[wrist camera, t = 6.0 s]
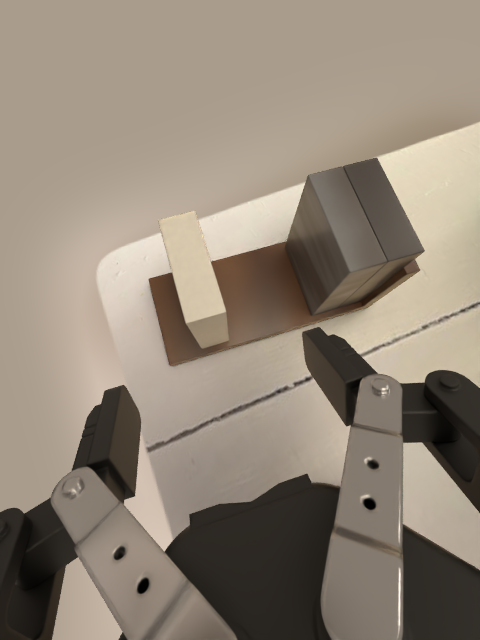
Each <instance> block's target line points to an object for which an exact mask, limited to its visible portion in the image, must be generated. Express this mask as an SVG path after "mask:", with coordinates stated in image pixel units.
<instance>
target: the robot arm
mask: <svg viewBox="0 0 480 640" xmlns="http://www.w3.org/2000/svg"><path fill="white" fill-rule="evenodd" d="M302 337H303V346H304V356H305V362H306V365H307V368H308V370H309V372H310V373H311V375H312V376H313V378H314V379H315V381H316V382H317V384H318V385H319V387H320V388H321V389H322V391H323V392H324V394H325V395H326V397H327V398H328V400H329V401H330V403H331V404H332V406H333V407H334V409H335V410H336V412H337V413H338V415H339V416H340V418H341V419H342V421H343V422H344V424H345V425H346V426H349V425H351V428H350V433H349V439H348V445H347V451H346V457H345V463H344V469H343V475H342V481H341V487H338V486H334V485H331V484H326V483H311V481H310V479H309V477H308V474H305V475H302V476H299V477H296V478H293V479H290V480H287V481H285V482H282V483H279V484H277V485H276V486H274V487H273V488H271V489H270V490H268V491H267V492H266V493H264V494H263V495H261V496H260V497H258V498H257V499H255V500H253V501H251V502H243V503H228V504H218V505H215V506H212V507H209V508H206V509H203V510H201V511H198V512H195V513H192V514H189V517H190V526H188V527H187V528H186V529H184V530H183V531H182V532H181V533H180V534H179V535H178V536H177V537H176V538H175V539H174V540H173V541H172V542H171V544H170V545H169V546H168V548H167V549H166V551H165V552H164V551H163V550H162V549H161V548H160V546H159V545H158V544H157V543H156V542H155V541H154V539H153V538H152V537H151V536H150V535H149V534H148V533H147V531H146V530H145V529H144V528H143V527H142V526H141V524H140V523H139V522H138V521H137V520H136V518H135V517H134V516H133V515H132V514H131V513H130V511H129V510H128V509H127V508H126V507H125V506H124V500H125V499H128V498H131V497H134V496H135V489H136V477H137V466H138V454H139V442H140V431H141V417H140V413H139V410H138V408H137V406H136V405H135V403H134V401H133V399H132V397H131V395H130V393H129V392H128V390H127V388H126V387H125V386H124V385H122V386H118V387H115V388H112V389H108V390H106V391H105V392H104V395H103V399H102V403H101V404H100V405H97V406H95V407H94V408H93V410H92V411H91V413H90V414H89V416H88V417H87V420H86V424H85V430H84V431H83V434H82V439H81V441H80V444H79V448H78V451H77V454H76V458H75V461H74V465H73V468H72V471H71V472H70V473H68V474H67V475H66V476H65V477H63V478H62V479H61V480H60V481H59V482H58V484H57V485H56V487H55V488H54V490H53V492H52V496H51V498H49V499H48V500H46V501H45V502H43V503H41V504H40V505H38V506H37V507H35V508H33V509H31V510H30V511H28V512H27V513H25V514H24V513H23V512H22V511H21V510H20V509H18V508H10V509H7V510H4V511H2V512H0V640H52V636H53V631H54V626H55V620H56V615H57V609H58V604H59V599H60V594H61V589H62V583H63V578H64V573H65V567H66V565H67V564H69V563H70V562H71V561H73V560H74V559H76V558H77V557H79V559H80V560H81V562H82V564H83V565H84V567H85V569H86V571H87V572H88V574H89V576H90V577H91V579H92V581H93V582H94V584H95V586H96V587H97V589H98V591H99V592H100V594H101V596H102V598H103V599H104V601H105V603H106V604H107V606H108V608H109V609H110V611H111V613H112V614H113V616H114V618H115V619H116V621H117V623H118V625H119V626H120V628H121V629H122V631H123V632H122V634H121V636H120V638H119V640H480V570H479V569H477V568H475V567H474V566H472V565H470V564H469V563H467V562H465V561H464V560H462V559H460V558H459V557H457V556H455V555H454V554H452V553H450V552H449V551H447V550H445V549H444V548H442V547H440V546H439V545H437V544H435V543H434V542H432V541H430V540H429V539H427V538H425V537H424V536H422V535H420V534H419V533H417V532H415V531H414V530H412V529H411V528H409V527H407V526H406V525H404V524H403V443H412V442H422V443H423V444H424V445H425V446H426V447H427V449H428V450H429V451H430V452H431V454H432V455H433V456H434V457H435V458H436V460H437V461H438V462H439V463H440V465H441V466H442V467H443V468H444V470H445V471H446V472H447V473H448V474H449V476H450V477H451V478H452V479H453V481H454V482H455V483H456V484H457V485H458V487H459V488H460V489H461V490H462V492H463V493H464V494H465V495H466V497H467V498H468V499H469V500H470V501H471V503H472V504H473V505H474V506H475V508H476V509H477V510H478V511H479V513H480V388H479V387H478V386H476V385H475V384H474V383H473V382H471V381H470V380H469V379H468V378H466V377H465V376H463V375H461V374H459V373H456V372H453V371H447V370H438V371H433V372H431V373H429V374H428V375H427V376H426V379H425V383H408V384H402V383H399V382H398V381H397V380H395V379H394V378H392V377H390V376H387V375H383V374H378V373H377V372H376V371H375V370H374V369H373V368H372V367H371V366H370V365H369V364H368V363H367V362H366V361H365V360H364V359H363V358H362V357H361V356H360V355H359V354H358V353H356V351H355V350H354V349H353V348H351V346H350V345H349V344H348V343H347V342H346V341H345V340H344V339H343V338H340V337H338V336H336V335H334V334H333V335H330V336H327V335H326V334H325V332H324V331H323V330H322V329H321V328H320V327H317V328H314V329H311V330H307V331H304V332H303V333H302Z"/></svg>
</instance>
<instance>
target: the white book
mask: <svg viewBox="0 0 480 640" xmlns="http://www.w3.org/2000/svg"><path fill="white" fill-rule="evenodd" d="M158 222H159V226H160V230H161V233H162V237H163V241H164V244H165V248H166V252H167V256H168V259H169V263H170V267H171V271H172V274H173V278H174V282H175V285H176V289H177V293H178V297H179V300H180V304H181V308H182V311H183V315H184V319H185V323H186V324H187V326H188V328H189V329H190V331H191V332H192V334H193V336H194V337H195V339H196V340H197V342H198V343H199V345H200V347H201V348H202V349H203V348H207V347H210V346H213V345H217V344H220V343H223V342H227V341H229V335H228V325H227V314H226V309H225V306H224V303H223V299H222V296H221V293H220V290H219V286H218V283H217V280H216V277H215V273H214V270H213V267H212V264H211V260H210V257H209V254H208V251H207V247H206V244H205V241H204V238H203V234H202V231H201V228H200V225H199V221H198V218H197V215H196V212H195V211H192V212H188V213H184V214H180V215H176V216H172V217H168V218H164V219H160V220H158Z"/></svg>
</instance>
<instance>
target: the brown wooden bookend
mask: <svg viewBox="0 0 480 640" xmlns="http://www.w3.org/2000/svg"><path fill="white" fill-rule="evenodd" d="M423 252H424V249H423V247H422V245H421V243H420V241H419V239H418V237H417V235H416V233H415V231H414V229H413V227H412V225H411V223H410V221H409V219H408V217H407V215H406V213H405V211H404V210H403V208H402V206H401V204H400V202H399V200H398V198H397V196H396V194H395V192H394V190H393V188H392V186H391V184H390V182H389V180H388V178H387V176H386V174H385V172H384V171H383V169H382V167H381V165H380V163H379V161H378V159H377V158H373V159H369V160H365V161H361V162H357V163H353V164H350V165H346V166H343V167H338V168H334V169H330V170H326V171H322V172H318V173H314V174H310V175H308V177H307V180H306V183H305V186H304V189H303V192H302V195H301V199H300V202H299V205H298V208H297V211H296V214H295V217H294V220H293V223H292V226H291V230H290V233H289V236H288V239H287V241H286V242H283V243H279V244H275V245H272V246H268V247H264V248H261V249H257V250H253V251H249V252H246V253H242V254H238V255H235V256H231V257H227V258H224V259H220V260H216V261H213V262H211V264H212V267H213V270H214V273H215V277H216V280H217V283H218V286H219V290H220V293H221V296H222V299H223V303H224V306H225V309H226V314H227V325H228V335H229V341H227V342H223V343H220V344H217V345H213V346H210V347H207V348H203V349H202V348H201V347H200V345H199V343H198V342H197V340H196V339H195V337H194V336H193V334H192V332H191V331H190V329H189V328H188V326H187V324H186V323H185V319H184V315H183V311H182V308H181V304H180V300H179V297H178V293H177V289H176V285H175V282H174V278H173V274H172V273H168V274H165V275H161V276H157V277H154V278H150V279H149V283H150V287H151V291H152V296H153V300H154V304H155V308H156V312H157V316H158V320H159V324H160V328H161V332H162V336H163V340H164V344H165V349H166V353H167V357H168V361H169V365H171V366H174V365H178V364H181V363H184V362H188V361H191V360H194V359H198V358H201V357H204V356H208V355H211V354H214V353H218V352H221V351H224V350H228V349H231V348H234V347H238V346H241V345H244V344H248V343H251V342H254V341H258V340H261V339H264V338H268V337H271V336H274V335H278V334H281V333H284V332H287V331H291V330H294V329H297V328H301V327H304V326H307V325H311V324H314V323H317V322H321V321H324V320H327V319H331V318H334V317H337V316H341V315H344V314H347V313H351V312H354V311H357V310H361V309H364V308H367V307H369V306H371V305H372V304H373V303H375V302H376V301H378V300H379V299H381V298H382V297H383V296H385V295H386V294H388V293H389V292H390V291H392V290H393V289H395V288H396V287H398V286H399V285H400V284H402V283H403V282H405V281H406V280H407V279H409V278H410V277H412V276H413V275H414V274H416V273H417V272H419V271H420V269H419V267H418V265H417V263H416V261H415V258H417V257H418V256H419V255H421V254H422V253H423Z"/></svg>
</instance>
